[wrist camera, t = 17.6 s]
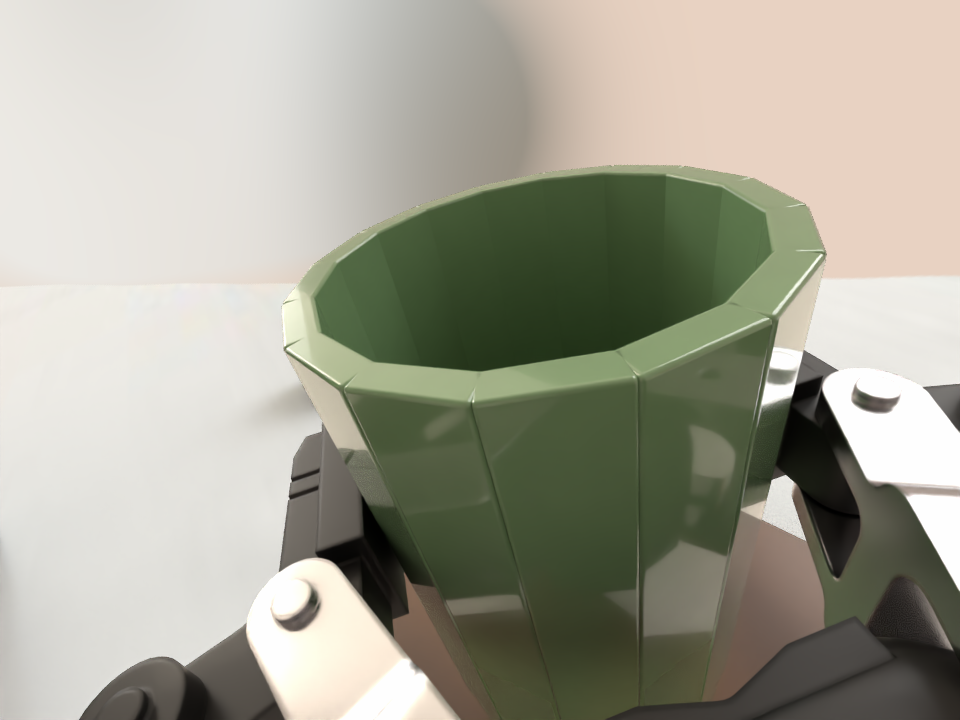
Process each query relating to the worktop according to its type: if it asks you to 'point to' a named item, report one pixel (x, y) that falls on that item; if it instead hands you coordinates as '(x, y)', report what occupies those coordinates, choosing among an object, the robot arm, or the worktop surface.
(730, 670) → the board
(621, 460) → the tumbler
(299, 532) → the robot arm
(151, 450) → the worktop surface
